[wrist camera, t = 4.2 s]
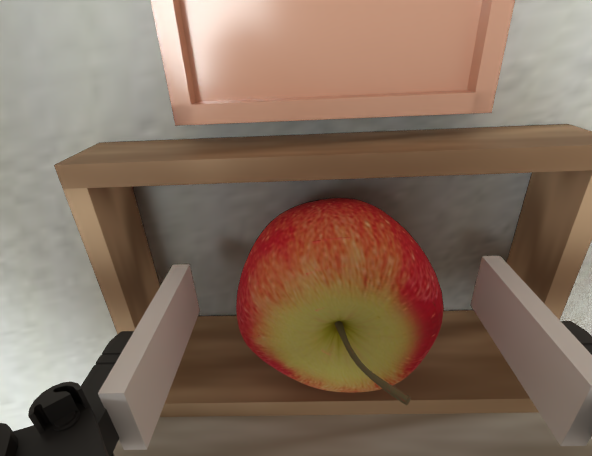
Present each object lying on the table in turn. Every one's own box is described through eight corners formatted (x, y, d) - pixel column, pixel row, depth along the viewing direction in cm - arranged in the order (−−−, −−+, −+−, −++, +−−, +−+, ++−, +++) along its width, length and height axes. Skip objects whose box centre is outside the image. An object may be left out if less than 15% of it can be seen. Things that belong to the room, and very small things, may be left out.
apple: (410, 289, 21) (491, 473, 12) (271, 311, 22) (250, 496, 13) (400, 156, 17) (506, 278, 8) (232, 189, 18) (165, 331, 9)
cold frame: (75, 143, 17) (-537, 416, 5) (567, 124, 16) (1436, 391, 4) (141, 339, 23) (-47, 687, 11) (502, 332, 22) (755, 699, 10)
